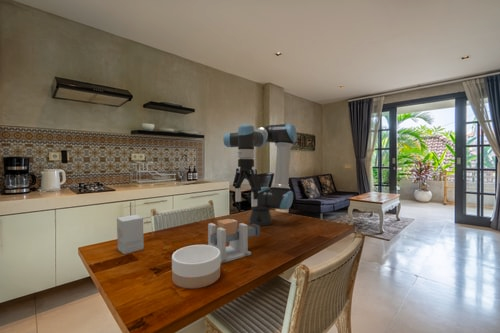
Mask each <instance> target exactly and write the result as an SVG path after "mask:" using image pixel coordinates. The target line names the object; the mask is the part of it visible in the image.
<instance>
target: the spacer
mask: <svg viewBox="0 0 500 333" xmlns="http://www.w3.org/2000/svg"><path fill="white" fill-rule="evenodd" d="M236 221H237V220H236ZM236 221H233V220H231V218H226V219H220V220H217V221H216V222H217V224H216V229H217V228H223V229H225V230H226V235H230V234H234V233H236Z"/></svg>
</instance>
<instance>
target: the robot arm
mask: <svg viewBox="0 0 500 333" xmlns="http://www.w3.org/2000/svg"><path fill="white" fill-rule="evenodd" d="M222 139H223V145H224V146H225V147H227V148H237V158H238V159H237V166H238V167H237V168H236V169H235V170H236V171H235V175H234V178H233V179H234V180H233V183H232V187H234V189H235V193H234V194H235V203H237V202H238V203H239V202H242V184H243V182H244V180H247V181H248V184H249V186H250V189H251V195H250V196H251V197H250V198H251V202H250V203H251V212H250V215H249V219H248V223H249V224H250V225H251V224H256V225H259V226H260V227H261V226H262V227H263V226H269V225H272V224H273V219H272V214H271V211H270V209H276V210H285V211H286V210H289V209H290V208H291V207H292V204H293V200H294V191H292V190H291V187H290V186H289V182H290V181H289V180H290V179H289V178H290V177H289V176H290V164H291V163H290V162H291V148H293V147H294V143H296V142H297V140H298V133H297V128H296V127H295V125H294V124H293V123H283V124H282V123H281V124H270V125H266V126H260V127H258V128H256V129H255V127H254V125H253V124H241V125H239V126H238V128H237V132H227V133H225V134H224V136H223V138H222ZM266 143H270V144H271V143H274V145H275V146H276V160H275V161H276V162H275V173H274V174H275V175H274V184H273V185H272V186H271V189H270V186H261V183H260V180H259V178H258V177H259V176H258V170H257V168H256V169H255V168H254V167H255V159H254V158H255V147H256V148H261V147H264V146H265V144H266ZM253 168H254V169H253Z"/></svg>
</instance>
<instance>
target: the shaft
mask: <svg viewBox="0 0 500 333" xmlns="http://www.w3.org/2000/svg"><path fill="white" fill-rule="evenodd" d="M254 236H255V237H259V236H261V226H259V225H256V224H250V226H249V225H248V238H249V237H254ZM238 239H239V227H237V229H236V233H234V234H230V235H226V243H229V242H230V241H234V240H238ZM210 243H212V244H213V245H217V232H216V233H215V234H210Z"/></svg>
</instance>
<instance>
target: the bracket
mask: <svg viewBox="0 0 500 333" xmlns="http://www.w3.org/2000/svg"><path fill="white" fill-rule="evenodd" d="M230 219H231V218H230ZM231 220H233V221H236V229H238V228H239V239H238V240H234V241H230V242H228V243H229V245H228V246H227V242H226V230H225V229H223V228H217V224H215V223H213V222H210V223H207V245H210V246H214V247H216V248H218V249H219V250H220V265H222V264H224V263H228V262H231V261H234V260H237V259H241V258H244V257H247V256H251V255H252V252H251V251H250V250H248V249H249V248H248V245H249V243H248V238H249V237H248V226H249V225H248V224H245V223H244V222H240V223H238V220H236V219H233V218H232V219H231ZM215 233H217V245H213V244H212V243H210V234H215Z"/></svg>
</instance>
